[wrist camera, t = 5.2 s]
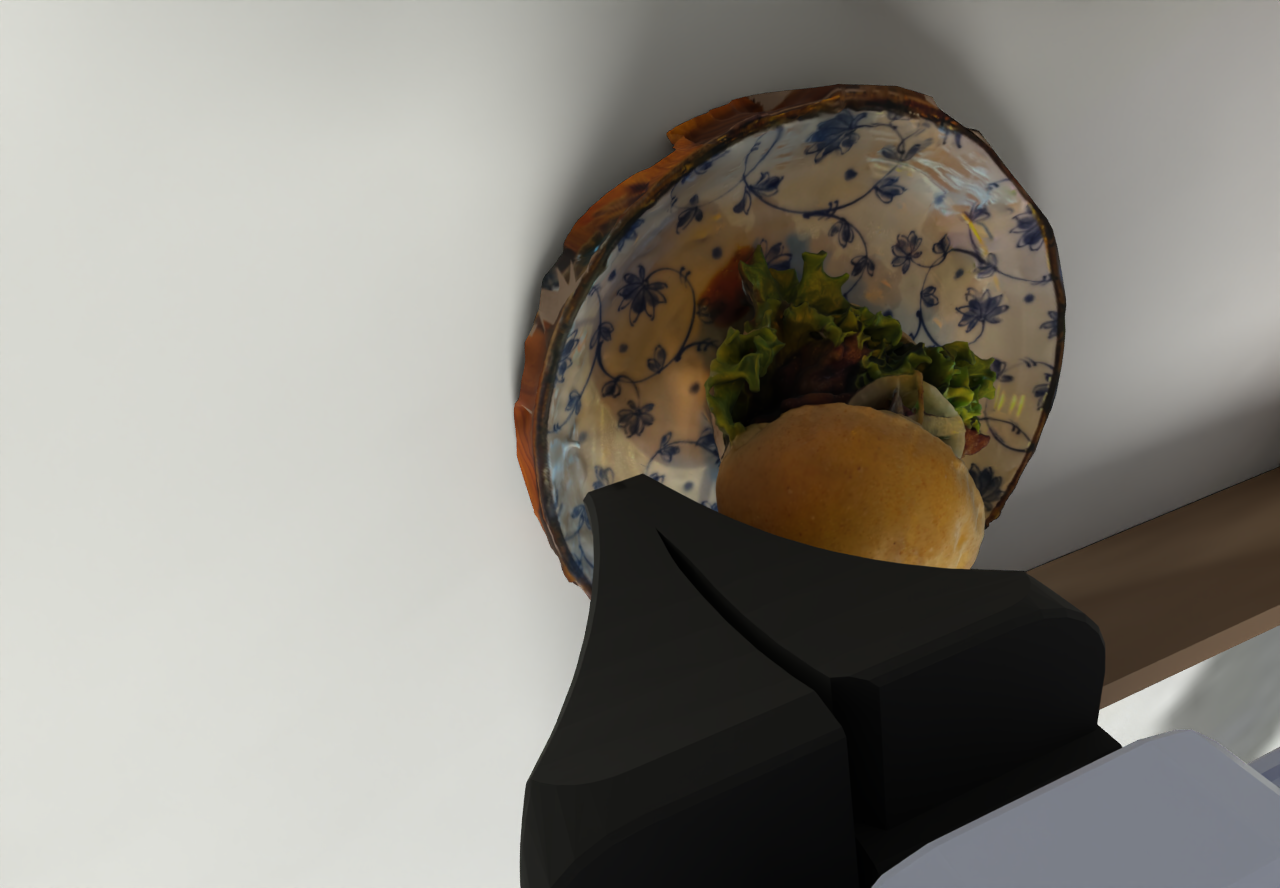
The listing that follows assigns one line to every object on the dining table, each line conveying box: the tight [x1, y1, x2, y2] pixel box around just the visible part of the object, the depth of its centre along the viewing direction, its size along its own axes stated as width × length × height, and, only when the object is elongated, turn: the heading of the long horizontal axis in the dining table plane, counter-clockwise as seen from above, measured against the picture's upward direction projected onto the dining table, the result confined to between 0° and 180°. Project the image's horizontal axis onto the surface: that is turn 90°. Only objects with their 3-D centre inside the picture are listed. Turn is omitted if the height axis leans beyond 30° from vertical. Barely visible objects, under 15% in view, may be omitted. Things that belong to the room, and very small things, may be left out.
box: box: [1026, 467, 1280, 710], centre depth 16 cm, size 18×16×4 cm
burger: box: [514, 84, 1066, 600], centre depth 12 cm, size 12×12×8 cm
